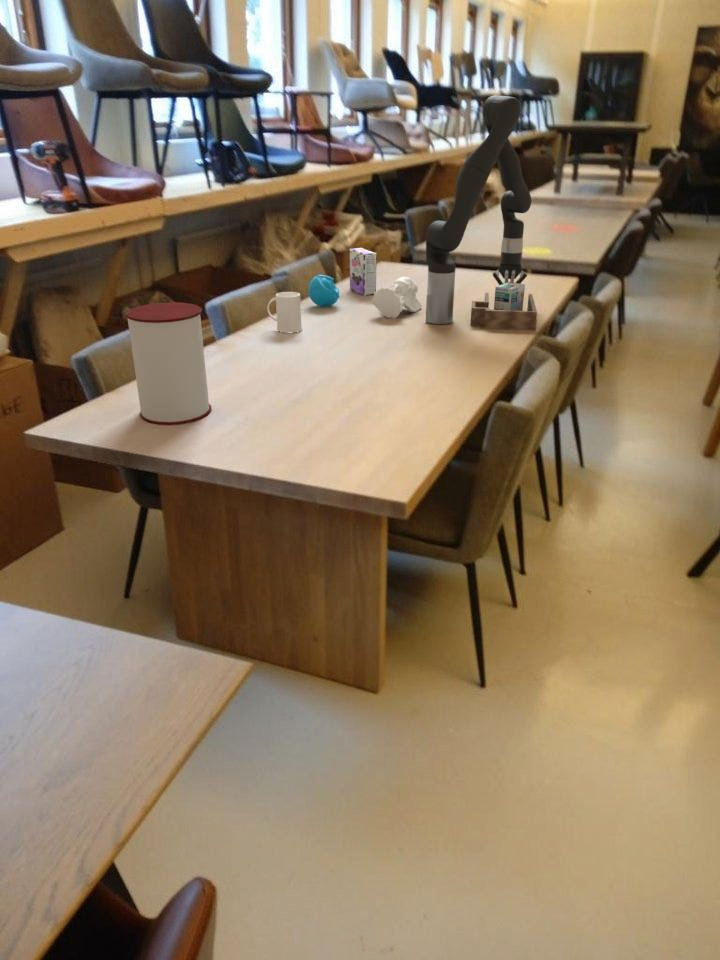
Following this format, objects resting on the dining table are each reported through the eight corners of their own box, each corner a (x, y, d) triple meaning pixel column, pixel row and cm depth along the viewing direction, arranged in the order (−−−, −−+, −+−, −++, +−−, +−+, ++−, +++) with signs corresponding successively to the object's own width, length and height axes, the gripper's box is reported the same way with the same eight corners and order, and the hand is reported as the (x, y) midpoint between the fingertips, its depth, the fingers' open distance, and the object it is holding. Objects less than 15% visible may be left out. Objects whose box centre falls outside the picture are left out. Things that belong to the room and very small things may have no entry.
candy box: (349, 289, 307) (348, 248, 300) (362, 288, 309) (362, 247, 302) (363, 296, 296) (363, 253, 289) (376, 295, 298) (377, 252, 291)
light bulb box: (509, 319, 263) (512, 288, 258) (492, 316, 267) (494, 286, 262) (523, 313, 271) (525, 283, 266) (506, 311, 274) (508, 281, 270)
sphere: (338, 310, 276) (338, 278, 270) (307, 310, 276) (306, 278, 271) (340, 302, 286) (339, 271, 281) (310, 302, 287) (309, 271, 281)
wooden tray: (470, 327, 253) (471, 310, 251) (471, 308, 278) (472, 292, 275) (535, 330, 251) (537, 312, 248) (530, 310, 275) (532, 294, 272)
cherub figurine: (366, 286, 264) (392, 270, 278) (369, 320, 270) (394, 303, 285) (399, 289, 258) (424, 273, 272) (401, 324, 264) (425, 306, 279)
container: (216, 399, 192) (207, 301, 181) (206, 424, 177) (195, 319, 165) (148, 400, 191) (135, 302, 180) (132, 425, 176) (116, 320, 165)
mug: (263, 331, 250) (261, 295, 245) (275, 324, 257) (273, 289, 252) (295, 334, 246) (293, 298, 241) (306, 328, 254) (305, 292, 248)
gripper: (493, 251, 267) (489, 300, 274) (531, 252, 265) (526, 301, 273) (493, 248, 273) (489, 295, 281) (529, 249, 271) (525, 296, 279)
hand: (507, 298), depth 277 cm, fingers closed
